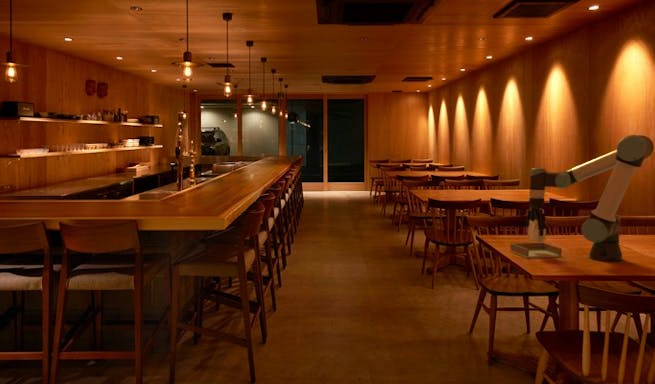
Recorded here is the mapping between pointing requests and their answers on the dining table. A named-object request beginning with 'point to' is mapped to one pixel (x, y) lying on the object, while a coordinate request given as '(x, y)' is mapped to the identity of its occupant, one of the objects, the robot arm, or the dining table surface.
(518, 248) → the shallow square tray
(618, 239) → the robot arm
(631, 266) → the dining table surface
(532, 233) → the mug
